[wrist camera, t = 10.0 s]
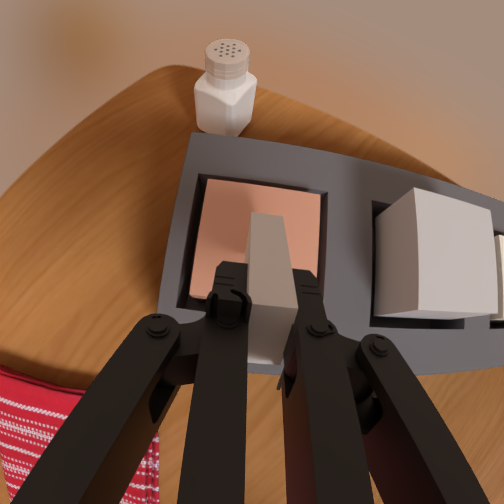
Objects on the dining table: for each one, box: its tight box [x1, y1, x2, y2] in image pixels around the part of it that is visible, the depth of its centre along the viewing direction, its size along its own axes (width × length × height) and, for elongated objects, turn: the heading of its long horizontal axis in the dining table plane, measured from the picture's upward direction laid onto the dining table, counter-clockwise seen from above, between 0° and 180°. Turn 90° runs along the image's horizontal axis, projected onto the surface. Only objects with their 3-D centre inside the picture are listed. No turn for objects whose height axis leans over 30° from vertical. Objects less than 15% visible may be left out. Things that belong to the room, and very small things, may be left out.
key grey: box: [374, 187, 498, 320], centre depth 17 cm, size 6×6×5 cm
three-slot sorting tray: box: [157, 132, 504, 376], centre depth 22 cm, size 32×14×8 cm, turn 84°
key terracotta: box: [189, 179, 320, 303], centre depth 19 cm, size 6×6×5 cm
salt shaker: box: [194, 38, 257, 137], centre depth 23 cm, size 4×4×10 cm
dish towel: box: [0, 365, 159, 504], centre depth 18 cm, size 17×24×3 cm
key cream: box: [490, 235, 504, 323], centre depth 21 cm, size 6×6×5 cm
